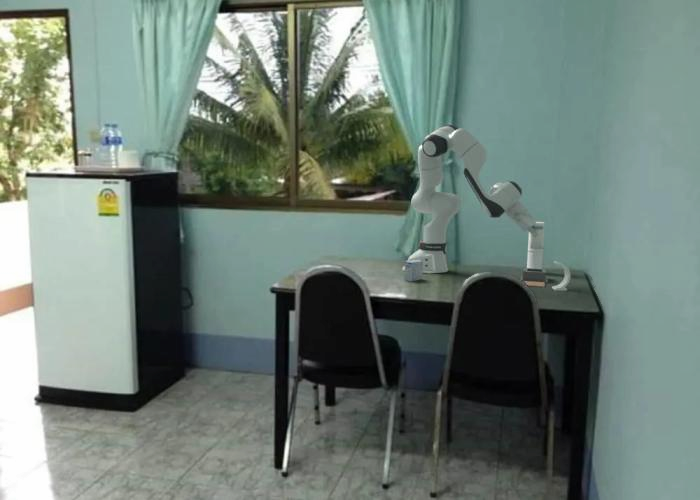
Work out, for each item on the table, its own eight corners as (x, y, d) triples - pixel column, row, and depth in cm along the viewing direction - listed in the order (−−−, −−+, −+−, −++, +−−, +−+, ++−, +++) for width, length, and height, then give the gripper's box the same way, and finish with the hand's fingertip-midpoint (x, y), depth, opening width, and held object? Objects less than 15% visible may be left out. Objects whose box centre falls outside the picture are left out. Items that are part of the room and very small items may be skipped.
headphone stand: (551, 288, 267) (553, 260, 266) (565, 288, 267) (567, 261, 266) (555, 290, 263) (557, 262, 261) (569, 290, 263) (571, 262, 261)
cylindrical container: (542, 274, 300) (545, 223, 296) (527, 273, 301) (530, 222, 298) (540, 271, 307) (543, 221, 303) (526, 271, 308) (528, 221, 305)
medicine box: (415, 278, 286) (415, 259, 285) (422, 279, 283) (423, 260, 282) (404, 280, 281) (404, 261, 280) (411, 281, 278) (412, 262, 276)
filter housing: (520, 281, 282) (520, 271, 281) (520, 276, 294) (521, 267, 293) (547, 283, 279) (548, 273, 278) (547, 278, 290) (547, 268, 289)
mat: (523, 285, 272) (523, 284, 272) (523, 282, 280) (523, 280, 280) (544, 287, 269) (544, 286, 269) (544, 283, 278) (544, 282, 278)
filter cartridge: (530, 248, 276) (531, 226, 275) (530, 247, 281) (531, 225, 280) (542, 249, 275) (543, 226, 273) (542, 247, 280) (543, 225, 278)
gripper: (518, 209, 269) (540, 232, 266) (526, 206, 287) (546, 228, 285) (507, 218, 271) (529, 242, 269) (515, 215, 290) (536, 237, 287)
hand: (538, 235), depth 277 cm, fingers closed on filter cartridge, 5 cm apart
